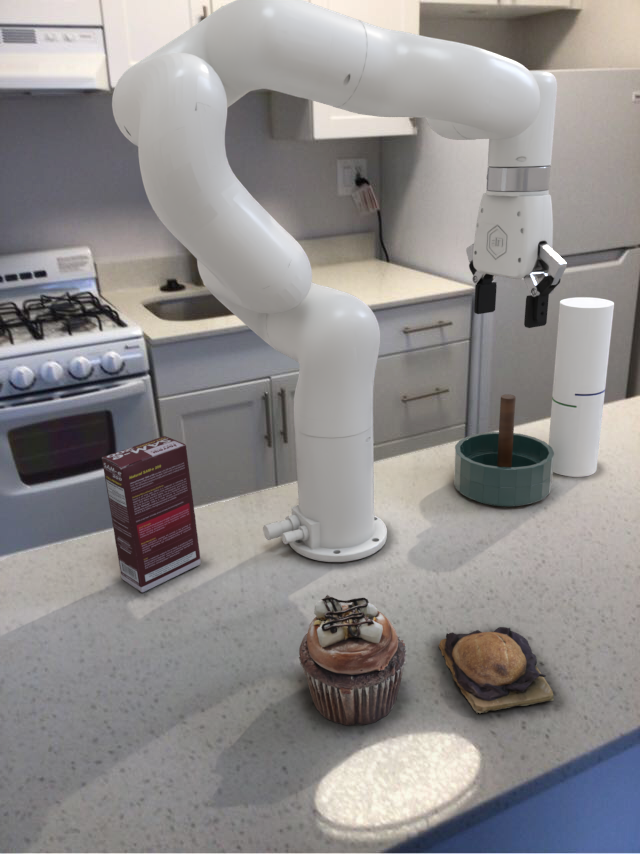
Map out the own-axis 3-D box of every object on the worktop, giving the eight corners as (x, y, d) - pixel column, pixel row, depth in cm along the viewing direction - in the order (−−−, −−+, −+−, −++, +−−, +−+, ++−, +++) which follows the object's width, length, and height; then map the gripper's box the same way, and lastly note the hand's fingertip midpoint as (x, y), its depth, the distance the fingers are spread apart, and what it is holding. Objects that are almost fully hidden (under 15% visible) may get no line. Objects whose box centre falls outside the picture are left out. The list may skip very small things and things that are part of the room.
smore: (560, 704, 67) (564, 670, 66) (470, 717, 66) (471, 683, 65) (512, 632, 77) (514, 601, 76) (433, 642, 76) (433, 611, 75)
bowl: (496, 518, 100) (498, 477, 98) (435, 482, 111) (436, 444, 109) (571, 494, 105) (574, 455, 103) (506, 461, 117) (508, 425, 114)
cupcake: (421, 722, 66) (422, 626, 62) (312, 742, 64) (307, 645, 60) (389, 653, 75) (388, 566, 71) (292, 670, 73) (287, 581, 69)
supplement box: (179, 551, 95) (165, 433, 89) (202, 565, 91) (189, 444, 86) (118, 579, 89) (99, 455, 83) (140, 595, 86) (122, 467, 80)
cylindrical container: (599, 478, 110) (618, 308, 101) (548, 475, 111) (562, 307, 102) (593, 458, 116) (610, 297, 107) (545, 456, 118) (557, 297, 109)
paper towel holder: (501, 493, 105) (506, 403, 100) (481, 481, 109) (485, 395, 104) (525, 485, 107) (531, 397, 102) (504, 474, 111) (509, 389, 106)
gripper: (450, 181, 99) (445, 311, 105) (545, 186, 84) (533, 336, 90) (495, 178, 102) (487, 305, 108) (594, 183, 88) (579, 328, 94)
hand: (508, 319), depth 99 cm, fingers open, 9 cm apart
